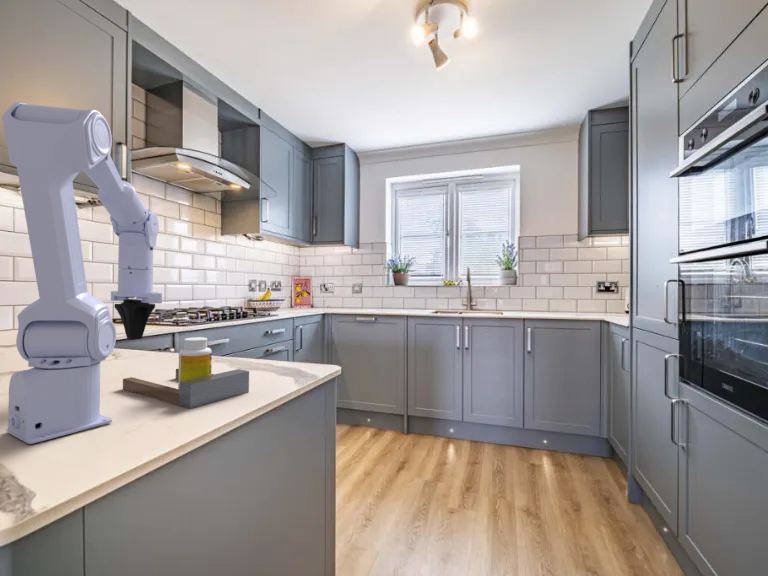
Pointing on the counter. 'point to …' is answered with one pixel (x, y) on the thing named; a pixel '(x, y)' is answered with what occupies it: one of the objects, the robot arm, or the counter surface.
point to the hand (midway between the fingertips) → (134, 339)
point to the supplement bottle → (194, 359)
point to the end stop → (213, 388)
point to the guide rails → (153, 389)
